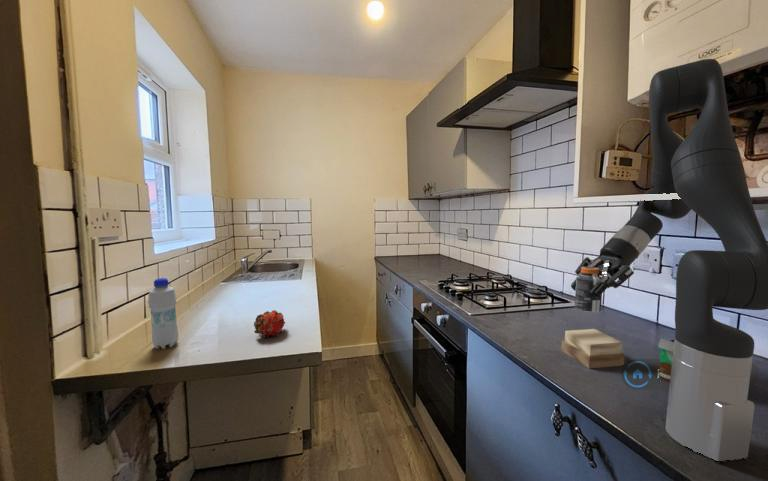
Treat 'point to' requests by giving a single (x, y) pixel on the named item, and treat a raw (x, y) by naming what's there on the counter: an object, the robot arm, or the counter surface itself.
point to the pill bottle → (587, 290)
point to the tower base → (592, 358)
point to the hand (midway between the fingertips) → (582, 291)
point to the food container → (666, 359)
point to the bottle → (163, 314)
